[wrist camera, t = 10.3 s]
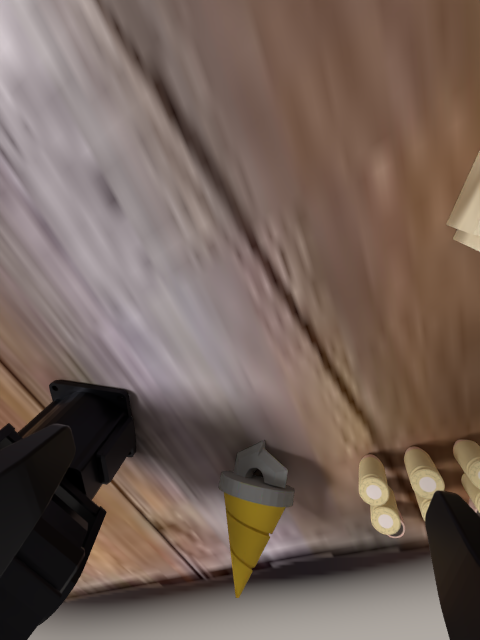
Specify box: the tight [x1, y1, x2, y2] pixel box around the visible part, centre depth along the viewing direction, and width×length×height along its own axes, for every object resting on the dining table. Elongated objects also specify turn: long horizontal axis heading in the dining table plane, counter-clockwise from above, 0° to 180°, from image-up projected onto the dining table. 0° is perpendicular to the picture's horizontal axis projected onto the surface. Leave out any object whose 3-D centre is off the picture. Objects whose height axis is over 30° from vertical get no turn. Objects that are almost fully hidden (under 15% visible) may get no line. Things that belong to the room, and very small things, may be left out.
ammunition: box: [359, 439, 480, 538], centre depth 21 cm, size 5×7×8 cm
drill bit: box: [219, 440, 295, 598], centre depth 23 cm, size 5×5×10 cm
